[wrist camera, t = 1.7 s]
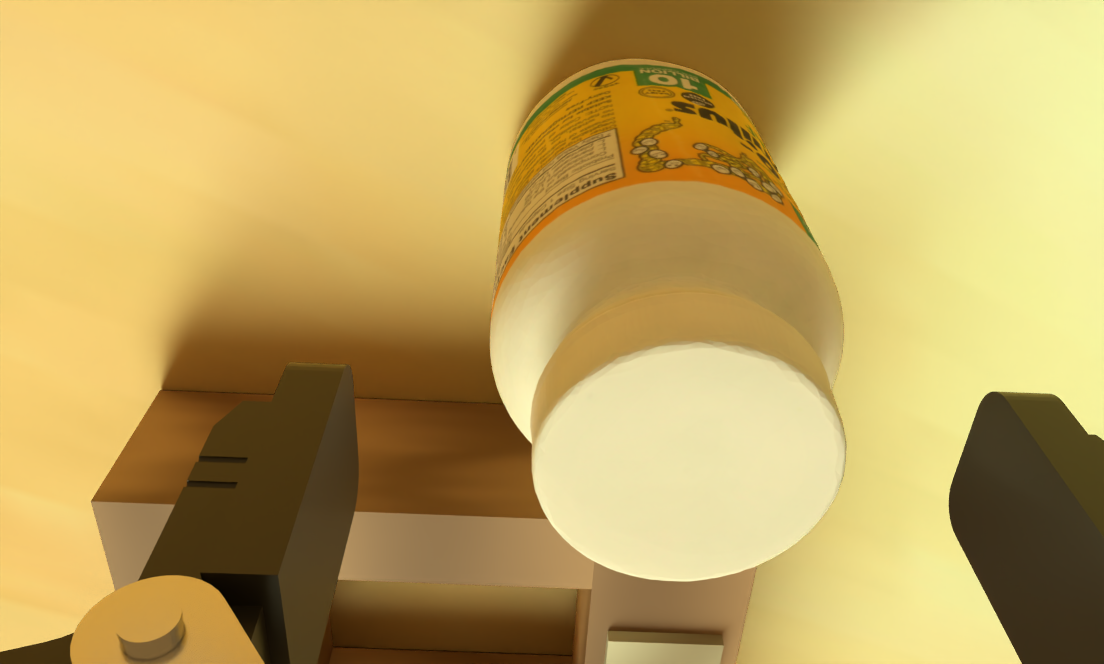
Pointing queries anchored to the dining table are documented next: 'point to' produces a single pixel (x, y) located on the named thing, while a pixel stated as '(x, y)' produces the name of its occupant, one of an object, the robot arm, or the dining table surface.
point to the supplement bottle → (665, 327)
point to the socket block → (436, 529)
